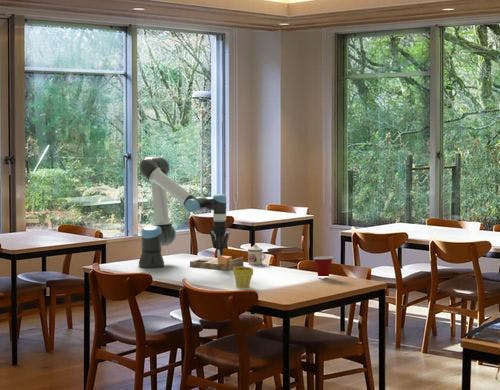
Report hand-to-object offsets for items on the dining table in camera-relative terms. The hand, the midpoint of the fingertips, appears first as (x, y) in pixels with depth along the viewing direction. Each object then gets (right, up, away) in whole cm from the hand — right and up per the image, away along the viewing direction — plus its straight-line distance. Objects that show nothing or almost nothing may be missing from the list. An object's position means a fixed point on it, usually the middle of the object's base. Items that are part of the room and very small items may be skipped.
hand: (219, 260), depth 540 cm
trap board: (-2, -4, +6) cm, 8 cm away
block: (+3, -2, -2) cm, 4 cm away
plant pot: (+14, -10, -59) cm, 61 cm away
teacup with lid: (+22, -4, +17) cm, 28 cm away
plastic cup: (+59, -8, -30) cm, 66 cm away
